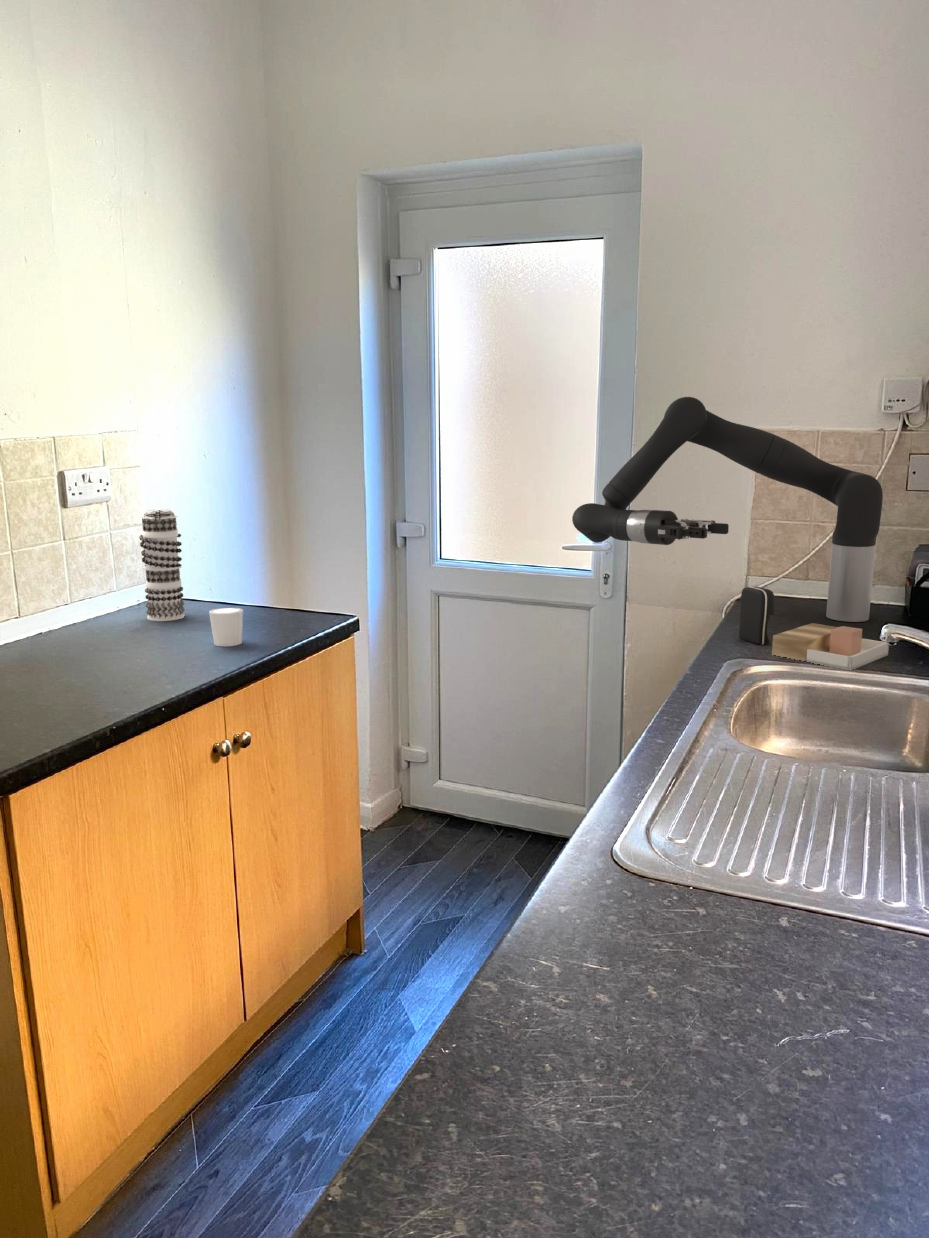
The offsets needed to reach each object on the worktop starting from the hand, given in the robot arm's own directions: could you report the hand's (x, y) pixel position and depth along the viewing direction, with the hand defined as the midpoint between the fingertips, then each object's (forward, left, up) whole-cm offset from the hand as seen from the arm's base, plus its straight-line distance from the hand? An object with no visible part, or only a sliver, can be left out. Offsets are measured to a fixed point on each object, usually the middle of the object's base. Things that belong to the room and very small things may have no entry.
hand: (717, 531), depth 202 cm
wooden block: (0, +22, -22) cm, 31 cm away
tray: (0, +30, -22) cm, 37 cm away
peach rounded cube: (0, +27, -19) cm, 33 cm away
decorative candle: (+76, -99, -22) cm, 127 cm away
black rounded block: (0, +10, -22) cm, 25 cm away
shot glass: (+79, -66, -22) cm, 105 cm away
